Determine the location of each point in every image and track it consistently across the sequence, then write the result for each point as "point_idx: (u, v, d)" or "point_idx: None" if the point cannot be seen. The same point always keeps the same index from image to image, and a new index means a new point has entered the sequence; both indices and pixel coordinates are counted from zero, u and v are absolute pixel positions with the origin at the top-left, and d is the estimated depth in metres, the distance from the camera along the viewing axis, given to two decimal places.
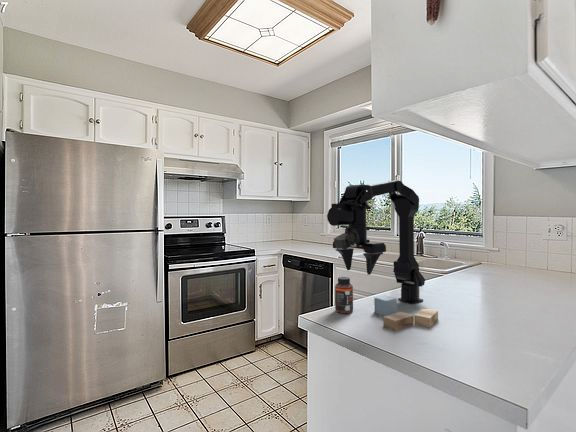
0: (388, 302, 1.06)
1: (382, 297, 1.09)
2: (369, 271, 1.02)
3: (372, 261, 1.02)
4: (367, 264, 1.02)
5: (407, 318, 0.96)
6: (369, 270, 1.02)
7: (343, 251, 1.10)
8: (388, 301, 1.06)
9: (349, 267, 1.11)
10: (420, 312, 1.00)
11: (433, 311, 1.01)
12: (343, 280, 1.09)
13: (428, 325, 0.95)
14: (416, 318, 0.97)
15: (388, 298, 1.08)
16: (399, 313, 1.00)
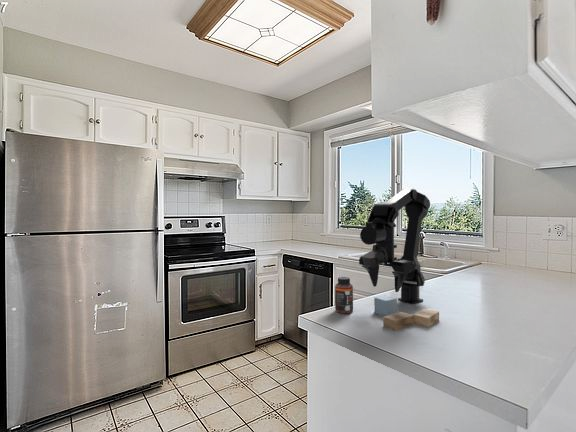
0: (388, 302, 1.06)
1: (382, 297, 1.09)
2: (397, 289, 1.04)
3: (400, 279, 1.04)
4: (395, 282, 1.04)
5: (407, 318, 0.96)
6: (397, 288, 1.04)
7: (370, 268, 1.12)
8: (388, 301, 1.06)
9: (375, 283, 1.13)
10: (420, 312, 1.00)
11: (434, 311, 1.01)
12: (343, 280, 1.09)
13: (426, 325, 0.95)
14: (415, 318, 0.98)
15: (388, 298, 1.08)
16: (399, 313, 1.00)
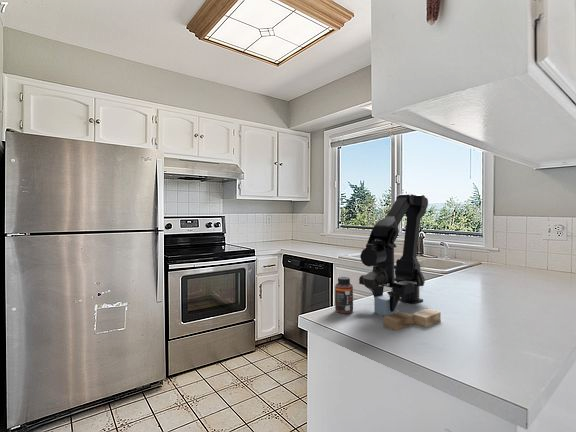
0: (388, 302, 1.06)
1: (382, 297, 1.09)
2: (392, 308, 1.06)
3: (395, 299, 1.06)
4: (390, 302, 1.05)
5: (407, 318, 0.96)
6: (392, 307, 1.06)
7: (374, 289, 1.10)
8: (388, 301, 1.06)
9: None
10: (420, 312, 1.00)
11: (435, 312, 1.00)
12: (343, 280, 1.09)
13: (424, 325, 0.96)
14: None
15: (388, 298, 1.08)
16: (399, 313, 1.00)
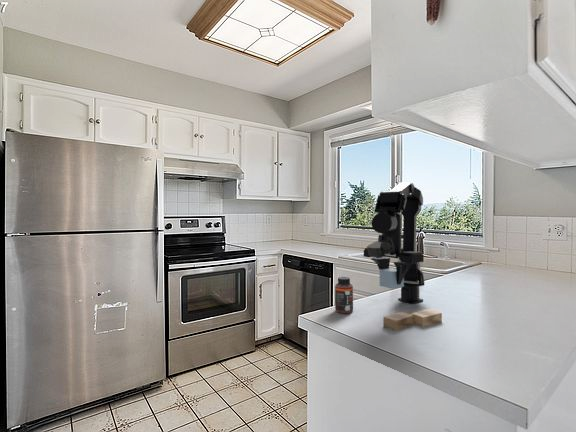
0: (394, 274, 0.98)
1: (388, 269, 1.01)
2: (399, 281, 0.98)
3: (402, 270, 0.98)
4: (397, 273, 0.98)
5: (407, 318, 0.96)
6: (399, 280, 0.98)
7: (380, 261, 1.03)
8: (395, 272, 0.98)
9: None
10: (420, 311, 1.01)
11: (436, 312, 1.00)
12: (343, 280, 1.09)
13: (422, 324, 0.96)
14: None
15: (394, 270, 1.00)
16: (399, 313, 1.00)
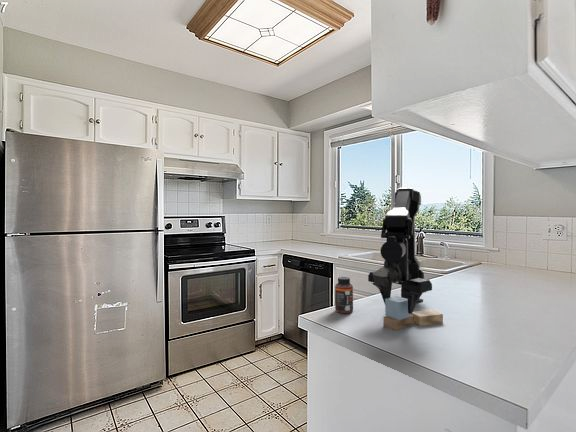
0: (401, 304, 0.94)
1: (394, 298, 0.98)
2: (410, 310, 0.93)
3: (414, 299, 0.93)
4: (409, 303, 0.92)
5: (407, 318, 0.96)
6: (410, 309, 0.93)
7: (382, 286, 1.00)
8: (401, 303, 0.94)
9: None
10: (421, 311, 1.01)
11: (437, 313, 0.99)
12: (343, 280, 1.09)
13: (418, 323, 0.97)
14: None
15: (401, 299, 0.96)
16: None
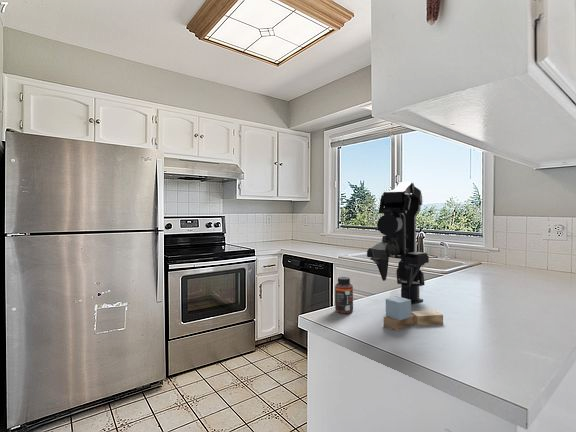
0: (402, 305, 0.94)
1: (394, 298, 0.98)
2: (409, 283, 0.96)
3: (413, 272, 0.96)
4: (408, 275, 0.95)
5: (407, 318, 0.96)
6: (409, 282, 0.96)
7: (379, 260, 1.04)
8: (402, 303, 0.94)
9: (385, 277, 1.04)
10: (422, 311, 1.01)
11: (437, 313, 0.99)
12: (343, 280, 1.09)
13: (416, 323, 0.97)
14: None
15: (401, 300, 0.96)
16: None
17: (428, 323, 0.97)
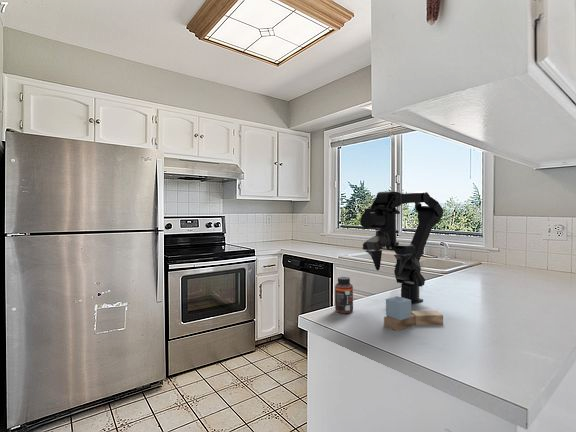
0: (402, 305, 0.94)
1: (394, 298, 0.97)
2: (399, 271, 1.11)
3: (402, 262, 1.10)
4: (397, 265, 1.10)
5: (408, 319, 0.96)
6: (399, 270, 1.11)
7: (373, 252, 1.18)
8: (402, 303, 0.94)
9: (378, 267, 1.19)
10: (422, 311, 1.01)
11: (437, 314, 0.98)
12: (343, 280, 1.09)
13: (415, 322, 0.98)
14: (411, 314, 1.01)
15: (401, 300, 0.96)
16: None
17: (427, 323, 0.97)
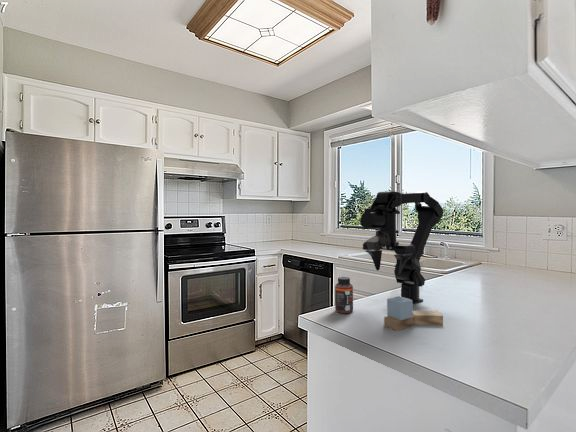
0: (403, 305, 0.94)
1: (396, 298, 0.98)
2: (399, 271, 1.11)
3: (402, 262, 1.10)
4: (397, 265, 1.10)
5: (408, 319, 0.96)
6: (399, 270, 1.11)
7: (373, 252, 1.18)
8: (403, 303, 0.94)
9: (378, 267, 1.19)
10: (423, 311, 1.01)
11: (437, 314, 0.98)
12: (343, 280, 1.09)
13: None
14: None
15: (403, 300, 0.96)
16: None
17: (426, 323, 0.97)
